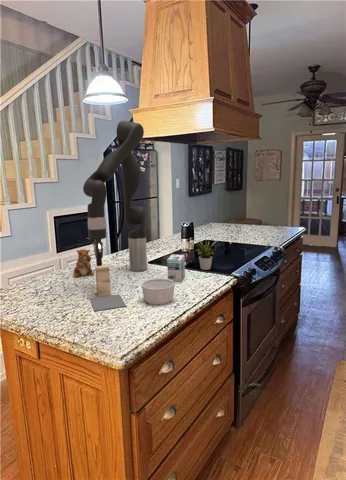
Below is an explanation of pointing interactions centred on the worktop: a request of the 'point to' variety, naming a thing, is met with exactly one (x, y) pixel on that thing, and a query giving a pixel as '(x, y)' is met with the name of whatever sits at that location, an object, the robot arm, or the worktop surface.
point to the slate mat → (107, 302)
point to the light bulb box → (176, 267)
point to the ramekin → (158, 290)
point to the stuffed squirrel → (83, 264)
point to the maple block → (103, 280)
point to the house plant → (205, 255)
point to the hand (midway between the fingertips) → (99, 266)
